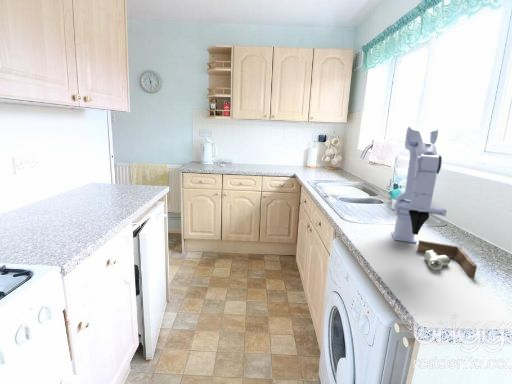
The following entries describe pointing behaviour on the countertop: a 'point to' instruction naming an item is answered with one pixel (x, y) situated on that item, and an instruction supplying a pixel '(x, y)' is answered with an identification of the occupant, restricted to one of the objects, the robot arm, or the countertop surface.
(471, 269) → the corner arena
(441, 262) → the pipe fitting
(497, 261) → the countertop surface
